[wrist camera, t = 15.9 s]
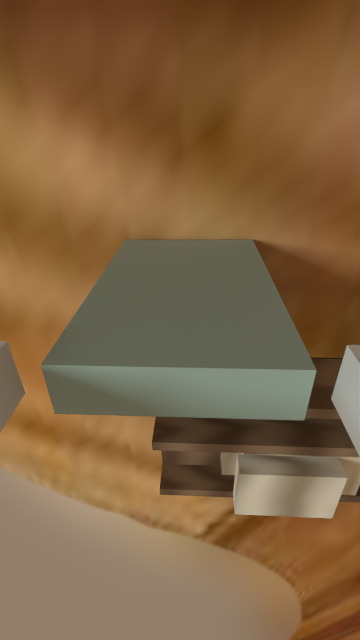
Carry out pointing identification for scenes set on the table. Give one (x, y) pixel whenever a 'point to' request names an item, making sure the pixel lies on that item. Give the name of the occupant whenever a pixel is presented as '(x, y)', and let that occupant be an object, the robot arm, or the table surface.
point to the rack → (249, 440)
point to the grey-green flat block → (182, 338)
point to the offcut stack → (290, 483)
